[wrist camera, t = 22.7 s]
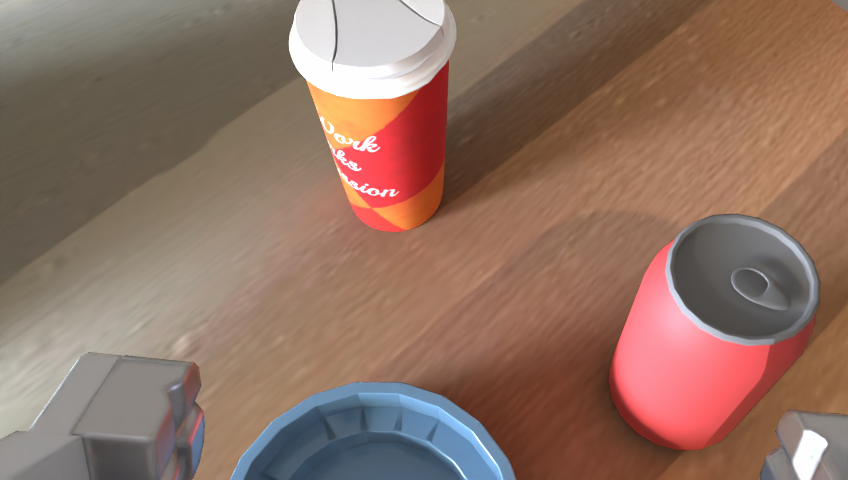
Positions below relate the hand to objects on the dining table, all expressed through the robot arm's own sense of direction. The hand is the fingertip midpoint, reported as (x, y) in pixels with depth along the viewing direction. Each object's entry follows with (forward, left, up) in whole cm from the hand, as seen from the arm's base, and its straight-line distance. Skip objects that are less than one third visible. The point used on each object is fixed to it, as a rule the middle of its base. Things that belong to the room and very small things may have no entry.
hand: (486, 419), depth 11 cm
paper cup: (-23, +3, -28) cm, 36 cm away
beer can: (-7, +13, -28) cm, 31 cm away
